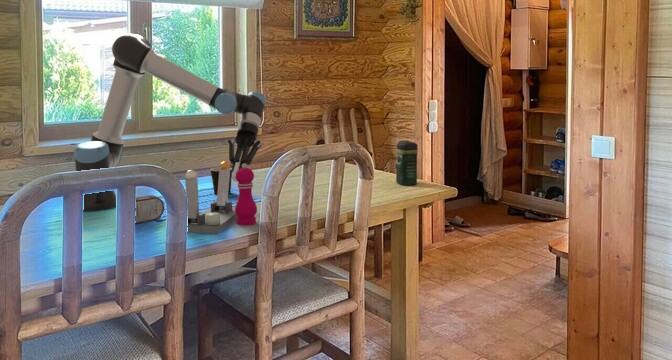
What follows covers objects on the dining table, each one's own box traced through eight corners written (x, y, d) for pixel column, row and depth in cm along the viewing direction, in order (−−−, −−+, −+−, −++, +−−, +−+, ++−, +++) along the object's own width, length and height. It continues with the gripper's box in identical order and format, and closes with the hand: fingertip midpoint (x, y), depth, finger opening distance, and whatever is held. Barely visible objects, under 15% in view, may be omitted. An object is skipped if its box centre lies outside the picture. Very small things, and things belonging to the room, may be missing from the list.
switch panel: (180, 232, 190) (179, 216, 189) (211, 211, 215) (211, 197, 214) (216, 234, 188) (216, 218, 187) (244, 213, 213) (243, 199, 212)
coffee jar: (419, 185, 257) (420, 141, 254) (402, 186, 255) (403, 142, 252) (410, 180, 267) (411, 139, 263) (393, 182, 264) (394, 139, 261)
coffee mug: (228, 196, 239) (227, 171, 237) (208, 195, 241) (206, 170, 239) (239, 190, 250) (238, 166, 248) (219, 189, 252) (218, 165, 250)
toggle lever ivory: (186, 224, 191) (183, 170, 188) (190, 221, 195) (187, 168, 191) (196, 224, 191) (193, 171, 187) (201, 221, 194) (198, 169, 191)
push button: (203, 225, 190) (203, 215, 189) (209, 221, 194) (208, 212, 193) (217, 225, 189) (216, 216, 188) (222, 222, 193) (221, 212, 193)
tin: (161, 216, 209) (160, 193, 207) (166, 218, 207) (164, 194, 205) (119, 225, 199) (117, 200, 197) (123, 227, 197) (121, 201, 195)
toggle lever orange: (214, 209, 206) (218, 160, 209) (218, 210, 210) (222, 162, 212) (224, 210, 206) (228, 160, 208) (228, 211, 209) (232, 162, 212)
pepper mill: (238, 219, 204) (236, 161, 200) (259, 220, 204) (257, 161, 200) (232, 225, 197) (230, 165, 193) (254, 226, 197) (252, 165, 193)
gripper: (267, 133, 232) (254, 185, 219) (235, 133, 235) (220, 184, 222) (262, 121, 226) (249, 174, 213) (229, 121, 228) (214, 172, 216)
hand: (234, 179), depth 218 cm, fingers closed
